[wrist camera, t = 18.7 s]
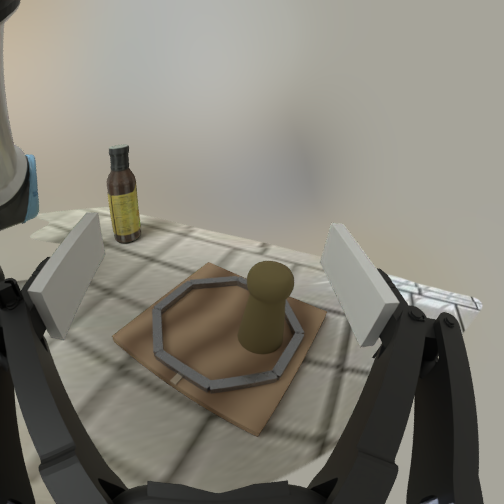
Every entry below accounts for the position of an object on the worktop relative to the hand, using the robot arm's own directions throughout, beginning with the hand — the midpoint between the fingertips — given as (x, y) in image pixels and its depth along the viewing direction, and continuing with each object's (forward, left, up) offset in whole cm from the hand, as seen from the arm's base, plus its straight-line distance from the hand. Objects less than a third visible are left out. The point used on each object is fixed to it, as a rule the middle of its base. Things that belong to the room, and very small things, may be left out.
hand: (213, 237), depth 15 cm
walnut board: (-5, +11, -21) cm, 25 cm away
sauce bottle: (-37, +20, -22) cm, 48 cm away
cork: (-1, +12, -20) cm, 24 cm away
